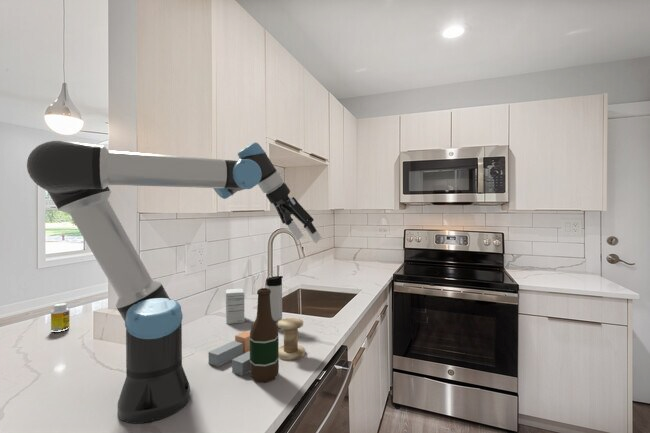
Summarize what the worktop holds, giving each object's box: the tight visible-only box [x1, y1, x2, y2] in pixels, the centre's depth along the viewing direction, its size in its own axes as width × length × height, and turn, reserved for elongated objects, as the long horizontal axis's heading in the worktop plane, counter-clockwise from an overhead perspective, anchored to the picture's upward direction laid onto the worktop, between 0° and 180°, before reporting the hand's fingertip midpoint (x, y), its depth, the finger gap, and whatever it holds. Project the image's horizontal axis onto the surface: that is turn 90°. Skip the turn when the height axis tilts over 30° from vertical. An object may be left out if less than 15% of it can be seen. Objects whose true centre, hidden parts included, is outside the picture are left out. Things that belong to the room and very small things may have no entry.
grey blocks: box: [208, 340, 250, 376], centre depth 97 cm, size 10×14×4 cm
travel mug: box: [265, 275, 284, 329], centre depth 129 cm, size 6×7×20 cm
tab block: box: [234, 330, 250, 354], centre depth 107 cm, size 4×4×5 cm
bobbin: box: [278, 317, 306, 361], centre depth 103 cm, size 9×9×10 cm
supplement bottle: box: [50, 302, 70, 331], centre depth 125 cm, size 6×6×10 cm
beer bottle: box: [249, 287, 280, 384], centre depth 89 cm, size 8×8×24 cm
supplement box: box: [225, 288, 246, 325], centre depth 136 cm, size 7×7×13 cm
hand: (309, 239), depth 112 cm, fingers open, 13 cm apart
